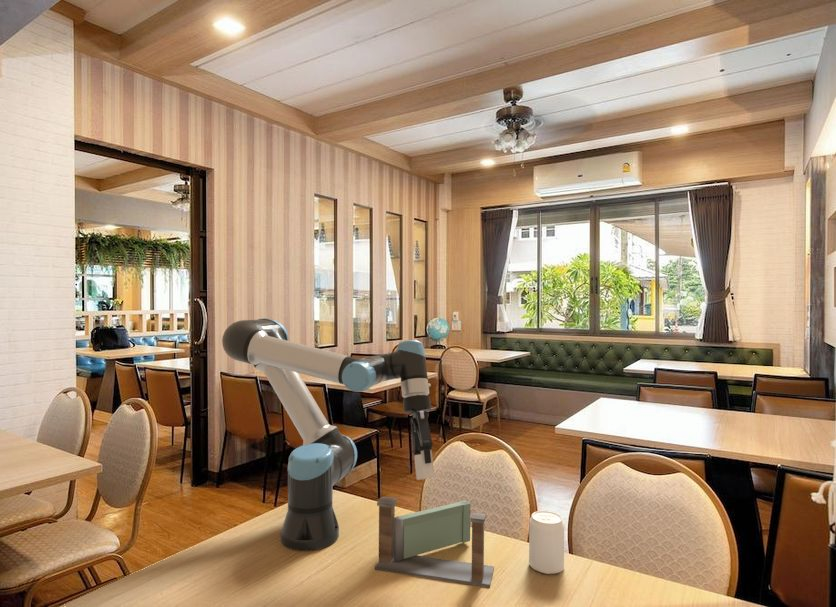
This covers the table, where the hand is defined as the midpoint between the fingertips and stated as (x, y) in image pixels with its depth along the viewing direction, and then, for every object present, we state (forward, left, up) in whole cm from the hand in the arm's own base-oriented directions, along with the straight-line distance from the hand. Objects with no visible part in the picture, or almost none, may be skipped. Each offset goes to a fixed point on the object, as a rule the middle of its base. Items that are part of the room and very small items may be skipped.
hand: (425, 478), depth 129 cm
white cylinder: (+27, +14, -18) cm, 35 cm away
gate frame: (+9, -6, -17) cm, 21 cm away
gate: (+4, -1, -16) cm, 17 cm away
